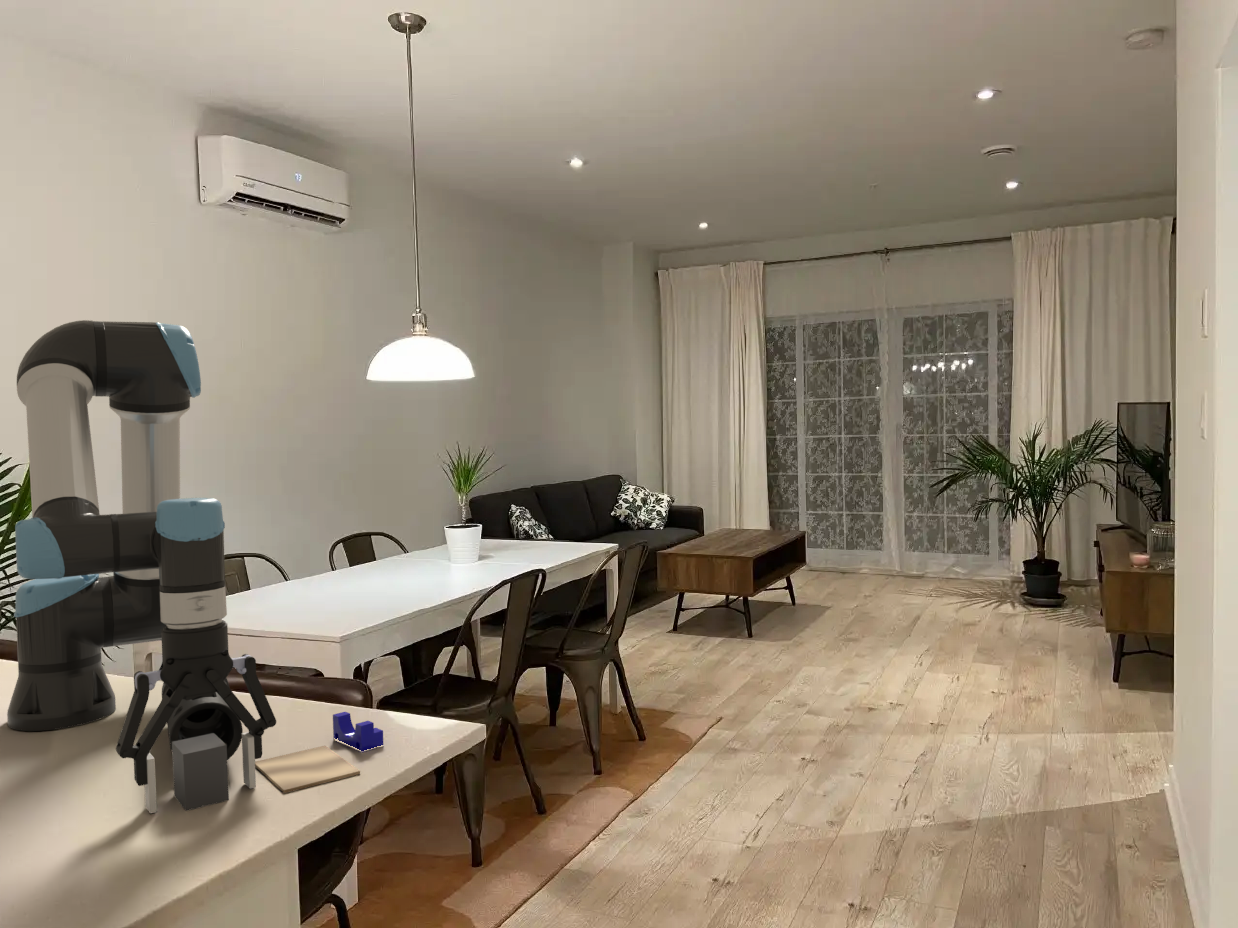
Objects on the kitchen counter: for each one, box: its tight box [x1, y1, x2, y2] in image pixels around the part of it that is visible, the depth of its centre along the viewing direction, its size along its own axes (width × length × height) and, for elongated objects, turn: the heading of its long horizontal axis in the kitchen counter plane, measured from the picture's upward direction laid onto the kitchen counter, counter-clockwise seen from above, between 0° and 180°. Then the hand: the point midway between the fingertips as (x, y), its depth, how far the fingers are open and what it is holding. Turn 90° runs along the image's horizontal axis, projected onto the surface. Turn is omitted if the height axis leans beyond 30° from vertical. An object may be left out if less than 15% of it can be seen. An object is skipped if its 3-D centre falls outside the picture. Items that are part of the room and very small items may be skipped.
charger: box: [171, 733, 230, 812], centre depth 117 cm, size 8×5×7 cm, turn 38°
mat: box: [255, 745, 361, 794], centre depth 125 cm, size 13×10×1 cm
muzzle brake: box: [161, 677, 244, 761], centre depth 136 cm, size 10×28×10 cm, turn 28°
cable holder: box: [332, 711, 384, 751], centre depth 135 cm, size 8×4×4 cm, turn 46°
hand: (201, 796), depth 116 cm, fingers open, 11 cm apart
